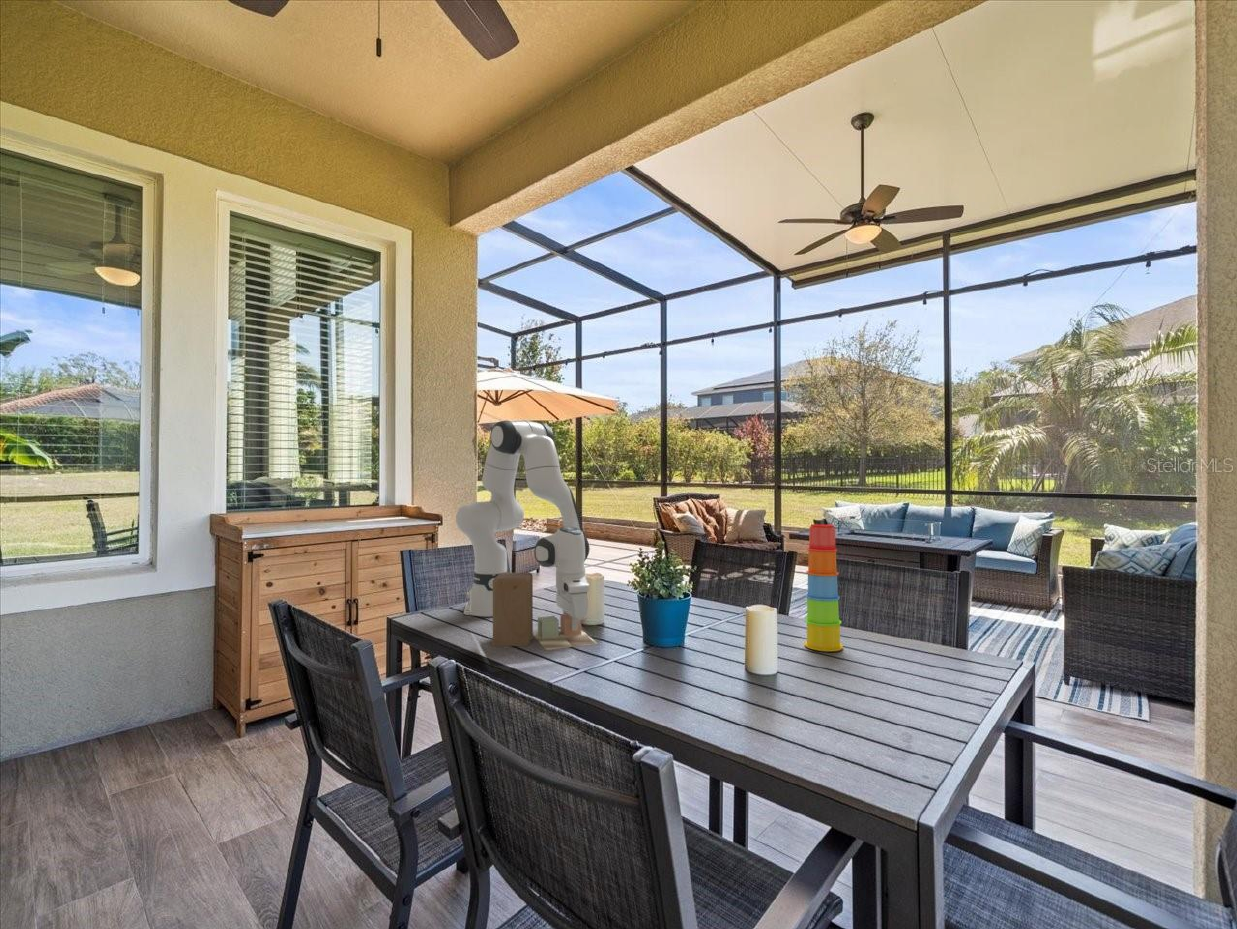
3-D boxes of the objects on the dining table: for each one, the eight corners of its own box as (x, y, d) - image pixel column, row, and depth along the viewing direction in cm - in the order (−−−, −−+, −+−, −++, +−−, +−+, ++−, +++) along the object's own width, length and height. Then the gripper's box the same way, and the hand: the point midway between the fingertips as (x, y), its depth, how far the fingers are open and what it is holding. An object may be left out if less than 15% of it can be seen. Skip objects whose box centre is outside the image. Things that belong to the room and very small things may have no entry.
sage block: (537, 634, 174) (537, 617, 174) (554, 632, 176) (554, 615, 176) (542, 638, 170) (542, 621, 170) (558, 636, 171) (558, 619, 171)
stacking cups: (797, 646, 165) (796, 524, 165) (816, 639, 172) (815, 522, 172) (831, 655, 158) (830, 527, 158) (849, 647, 165) (849, 524, 165)
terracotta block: (560, 631, 177) (560, 615, 177) (576, 629, 179) (576, 613, 179) (565, 636, 172) (565, 619, 172) (581, 634, 174) (581, 617, 174)
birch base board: (531, 637, 175) (531, 633, 175) (579, 631, 181) (579, 627, 181) (546, 654, 159) (546, 649, 159) (598, 647, 165) (598, 643, 165)
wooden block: (527, 650, 163) (527, 578, 163) (492, 650, 163) (491, 578, 163) (533, 639, 173) (533, 572, 173) (499, 639, 173) (499, 572, 173)
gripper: (551, 576, 184) (551, 619, 184) (570, 588, 165) (570, 637, 165) (570, 574, 186) (570, 617, 186) (591, 587, 167) (591, 635, 167)
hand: (570, 627), depth 176 cm, fingers closed on terracotta block, 5 cm apart
